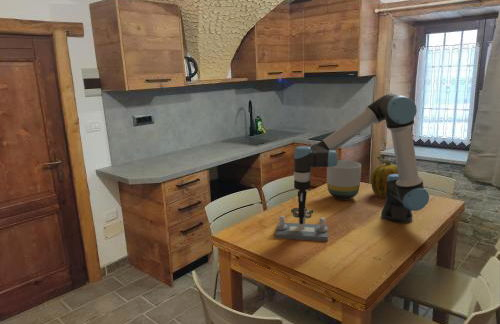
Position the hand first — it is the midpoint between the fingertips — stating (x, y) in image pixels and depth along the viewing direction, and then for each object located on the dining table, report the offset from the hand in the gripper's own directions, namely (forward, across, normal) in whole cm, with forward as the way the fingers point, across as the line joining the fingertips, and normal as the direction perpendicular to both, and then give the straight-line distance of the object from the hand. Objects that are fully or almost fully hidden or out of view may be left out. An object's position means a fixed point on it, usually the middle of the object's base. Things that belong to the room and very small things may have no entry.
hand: (301, 226), depth 181 cm
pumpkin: (+4, -60, +47) cm, 76 cm away
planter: (+4, -53, +21) cm, 57 cm away
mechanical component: (+1, 0, 0) cm, 1 cm away
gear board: (+3, 0, 0) cm, 3 cm away
